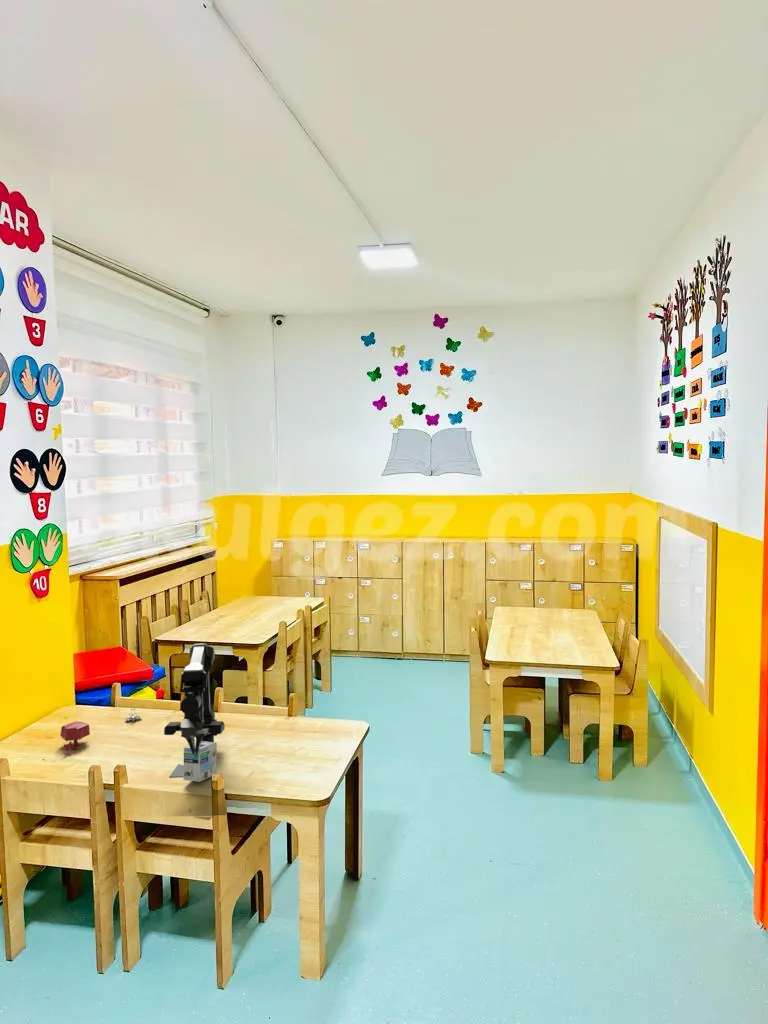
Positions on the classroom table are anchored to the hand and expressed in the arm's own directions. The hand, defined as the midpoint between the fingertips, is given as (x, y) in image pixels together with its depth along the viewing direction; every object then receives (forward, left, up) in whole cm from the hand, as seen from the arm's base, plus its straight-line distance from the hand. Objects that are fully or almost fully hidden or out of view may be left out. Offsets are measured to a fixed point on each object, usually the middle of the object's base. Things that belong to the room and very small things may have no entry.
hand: (195, 754), depth 244 cm
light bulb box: (-5, 0, -10) cm, 11 cm away
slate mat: (-13, -1, -11) cm, 18 cm away
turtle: (-33, -56, -12) cm, 66 cm away
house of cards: (-65, -43, -12) cm, 79 cm away
